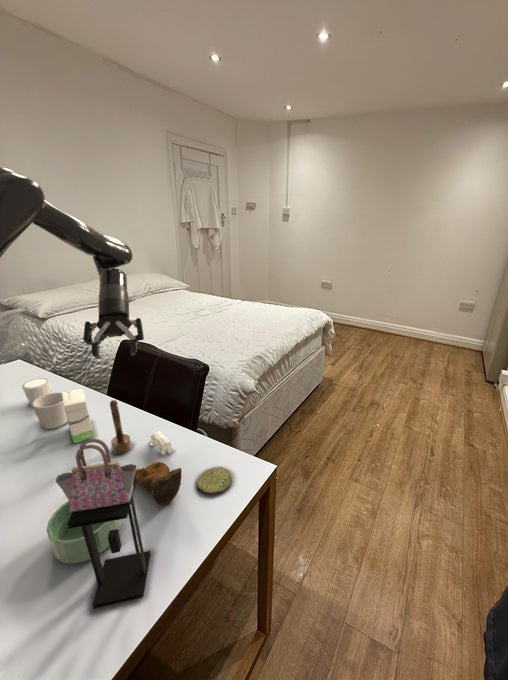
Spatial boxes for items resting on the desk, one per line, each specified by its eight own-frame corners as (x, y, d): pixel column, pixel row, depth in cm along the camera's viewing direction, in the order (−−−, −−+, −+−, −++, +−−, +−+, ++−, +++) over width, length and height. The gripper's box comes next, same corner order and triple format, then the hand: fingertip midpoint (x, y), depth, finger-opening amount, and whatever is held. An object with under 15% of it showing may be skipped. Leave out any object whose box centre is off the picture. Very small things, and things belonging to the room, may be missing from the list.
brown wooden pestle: (110, 455, 83) (99, 406, 77) (116, 443, 87) (106, 396, 81) (128, 453, 84) (119, 405, 78) (133, 442, 88) (125, 395, 82)
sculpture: (152, 475, 63) (135, 435, 74) (143, 520, 65) (127, 475, 76) (192, 468, 69) (170, 432, 80) (182, 510, 70) (162, 469, 81)
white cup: (27, 400, 103) (21, 381, 100) (53, 393, 107) (48, 375, 104) (28, 410, 98) (22, 390, 95) (55, 403, 102) (50, 384, 100)
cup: (30, 421, 94) (22, 397, 91) (61, 408, 100) (55, 386, 97) (46, 435, 88) (38, 411, 85) (77, 421, 94) (72, 398, 92)
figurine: (164, 457, 83) (162, 443, 81) (148, 443, 88) (146, 429, 86) (172, 453, 85) (171, 438, 83) (157, 439, 89) (155, 425, 88)
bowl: (41, 569, 57) (33, 546, 55) (72, 514, 67) (65, 493, 65) (109, 561, 59) (103, 538, 56) (128, 509, 69) (124, 488, 66)
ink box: (94, 437, 89) (86, 401, 84) (73, 444, 86) (63, 407, 81) (90, 421, 95) (82, 386, 90) (70, 427, 92) (61, 392, 88)
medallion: (190, 488, 74) (190, 486, 74) (209, 465, 81) (209, 462, 81) (220, 499, 72) (220, 496, 72) (237, 474, 79) (237, 471, 79)
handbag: (158, 551, 61) (136, 420, 50) (152, 594, 54) (125, 454, 43) (95, 564, 58) (58, 429, 47) (81, 611, 51) (33, 466, 40)
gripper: (80, 298, 86) (79, 354, 81) (139, 295, 91) (141, 348, 86) (89, 310, 93) (88, 363, 87) (143, 307, 98) (146, 357, 92)
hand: (115, 356), depth 87 cm, fingers open, 8 cm apart
